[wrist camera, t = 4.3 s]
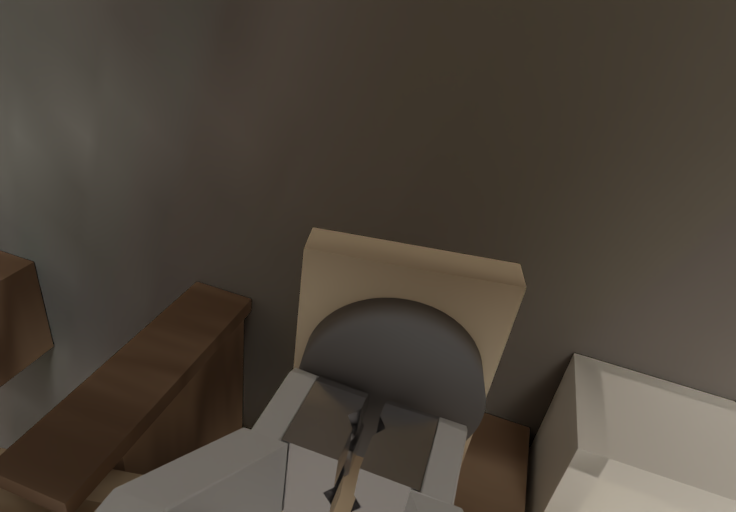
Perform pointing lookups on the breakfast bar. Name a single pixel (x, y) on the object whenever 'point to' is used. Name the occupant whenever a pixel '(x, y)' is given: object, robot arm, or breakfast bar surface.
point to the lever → (389, 335)
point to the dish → (631, 445)
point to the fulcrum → (176, 402)
